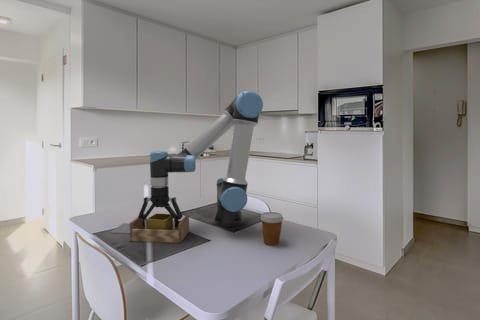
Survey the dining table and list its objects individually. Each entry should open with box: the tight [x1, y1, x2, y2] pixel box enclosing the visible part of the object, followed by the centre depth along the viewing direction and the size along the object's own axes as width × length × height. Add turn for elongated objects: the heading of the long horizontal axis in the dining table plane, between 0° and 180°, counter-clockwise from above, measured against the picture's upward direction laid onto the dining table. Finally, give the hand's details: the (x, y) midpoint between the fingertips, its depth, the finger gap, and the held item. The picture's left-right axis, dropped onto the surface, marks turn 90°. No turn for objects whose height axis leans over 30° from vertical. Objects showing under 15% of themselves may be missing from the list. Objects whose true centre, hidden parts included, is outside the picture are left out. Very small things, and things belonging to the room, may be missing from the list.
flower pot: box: [146, 212, 174, 230], centre depth 130 cm, size 9×9×9 cm
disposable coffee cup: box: [260, 211, 284, 246], centre depth 123 cm, size 10×10×12 cm
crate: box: [129, 212, 190, 244], centre depth 130 cm, size 22×14×8 cm, turn 86°
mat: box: [109, 222, 130, 235], centre depth 140 cm, size 13×13×1 cm
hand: (160, 233), depth 131 cm, fingers open, 12 cm apart
